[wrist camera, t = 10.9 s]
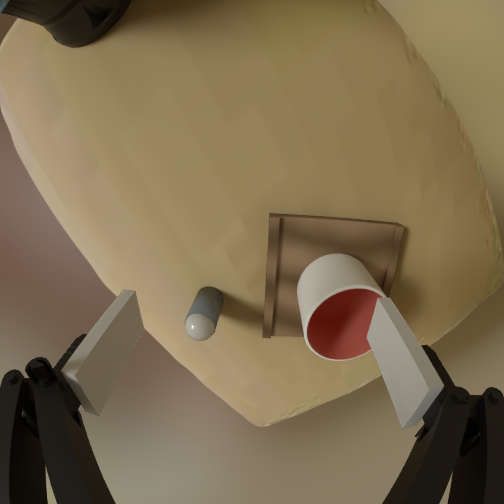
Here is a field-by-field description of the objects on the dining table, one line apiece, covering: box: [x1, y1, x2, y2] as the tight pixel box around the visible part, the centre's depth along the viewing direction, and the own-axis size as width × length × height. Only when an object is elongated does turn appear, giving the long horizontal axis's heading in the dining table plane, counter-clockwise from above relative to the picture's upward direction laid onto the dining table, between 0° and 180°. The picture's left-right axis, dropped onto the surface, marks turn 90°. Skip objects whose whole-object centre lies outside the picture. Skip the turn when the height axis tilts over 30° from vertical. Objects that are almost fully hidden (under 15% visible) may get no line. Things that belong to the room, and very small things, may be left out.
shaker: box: [185, 287, 224, 341], centre depth 36 cm, size 4×4×9 cm
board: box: [263, 213, 404, 338], centre depth 37 cm, size 18×18×2 cm
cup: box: [297, 253, 387, 361], centre depth 32 cm, size 10×10×10 cm
